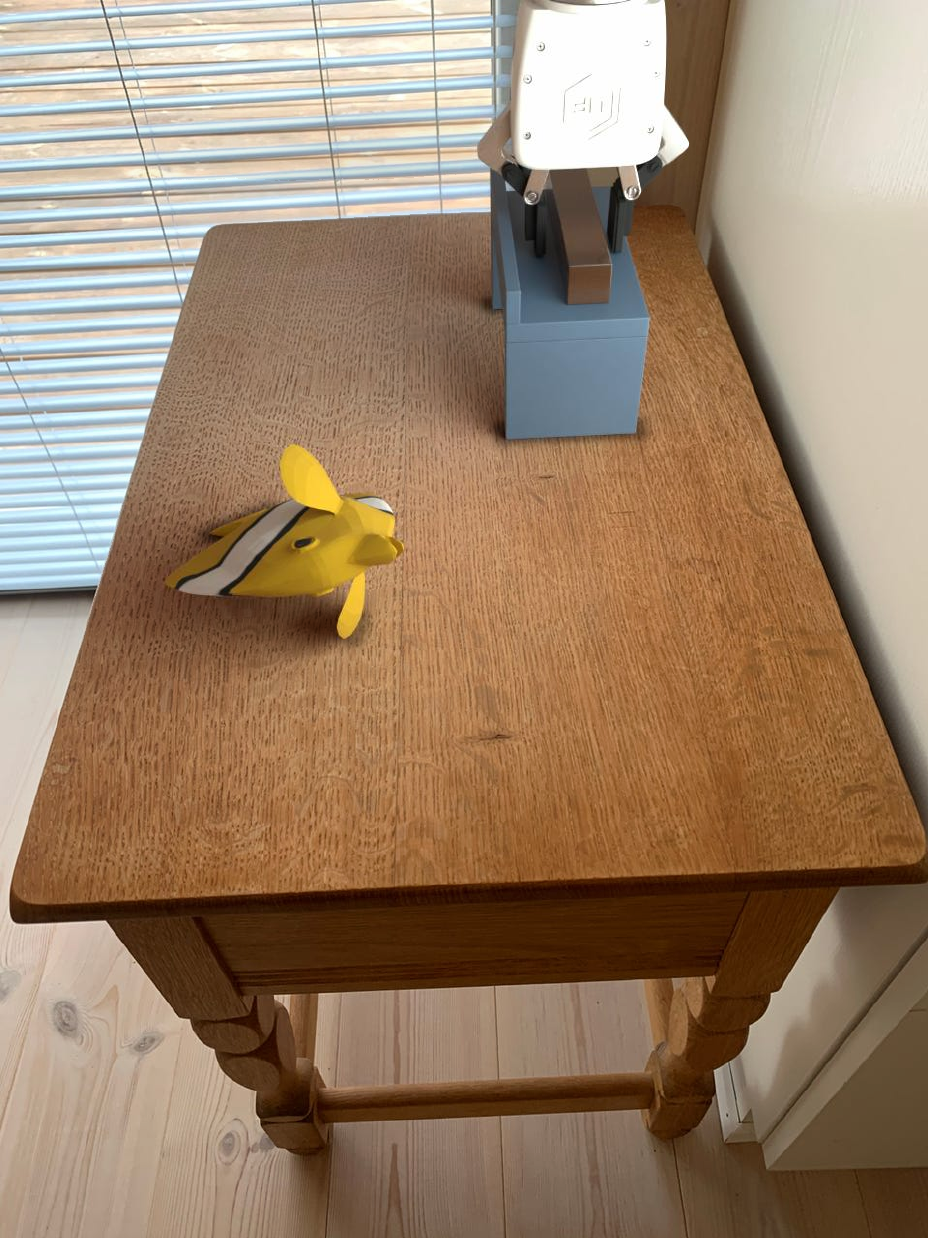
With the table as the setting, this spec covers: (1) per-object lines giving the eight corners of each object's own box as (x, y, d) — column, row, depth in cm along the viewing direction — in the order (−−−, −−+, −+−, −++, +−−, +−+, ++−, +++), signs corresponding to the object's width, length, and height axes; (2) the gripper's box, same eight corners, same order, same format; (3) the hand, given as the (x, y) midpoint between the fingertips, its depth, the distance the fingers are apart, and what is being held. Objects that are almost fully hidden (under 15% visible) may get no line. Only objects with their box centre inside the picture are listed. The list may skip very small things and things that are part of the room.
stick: (609, 303, 69) (612, 263, 67) (566, 305, 69) (568, 265, 67) (583, 197, 80) (585, 160, 78) (546, 199, 80) (547, 162, 78)
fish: (427, 419, 54) (171, 524, 49) (486, 617, 59) (259, 732, 54) (305, 400, 71) (103, 477, 65) (359, 556, 76) (176, 639, 70)
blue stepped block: (602, 295, 89) (613, 154, 79) (635, 433, 76) (654, 284, 66) (491, 300, 89) (490, 160, 79) (505, 439, 76) (505, 291, 66)
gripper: (456, -5, 58) (465, 277, 72) (743, -19, 58) (698, 265, 72) (452, -44, 63) (462, 227, 77) (717, -57, 63) (679, 216, 77)
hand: (576, 243), depth 74 cm, fingers open, 5 cm apart
